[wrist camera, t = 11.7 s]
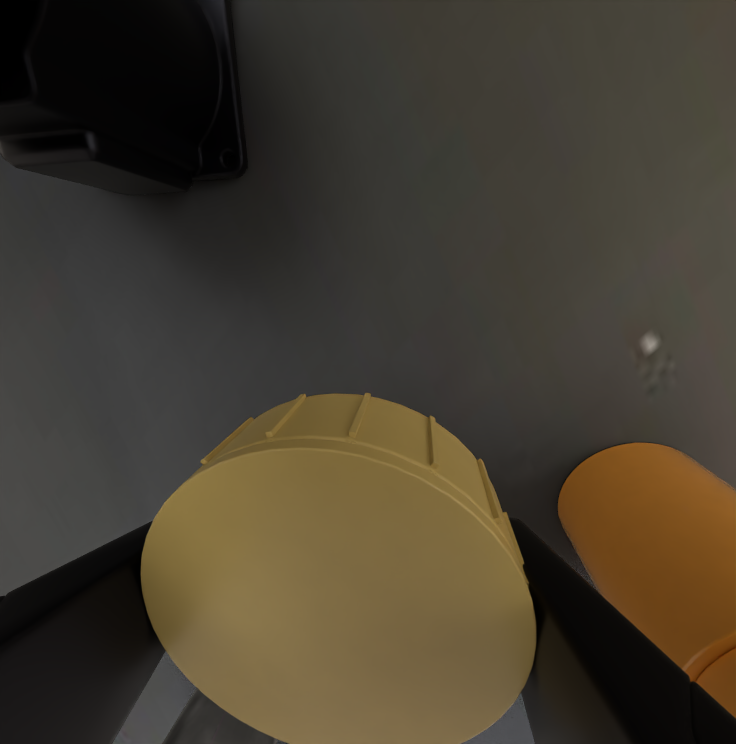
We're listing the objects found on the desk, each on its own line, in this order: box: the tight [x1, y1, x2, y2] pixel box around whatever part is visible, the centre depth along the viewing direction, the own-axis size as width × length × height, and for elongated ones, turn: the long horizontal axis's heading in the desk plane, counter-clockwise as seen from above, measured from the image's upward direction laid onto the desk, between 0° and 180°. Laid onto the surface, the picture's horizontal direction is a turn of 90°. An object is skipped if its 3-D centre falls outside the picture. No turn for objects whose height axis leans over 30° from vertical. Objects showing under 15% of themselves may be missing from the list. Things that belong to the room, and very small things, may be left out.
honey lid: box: [140, 393, 537, 744], centre depth 7 cm, size 6×6×2 cm
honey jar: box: [558, 443, 736, 718], centre depth 10 cm, size 6×6×9 cm
